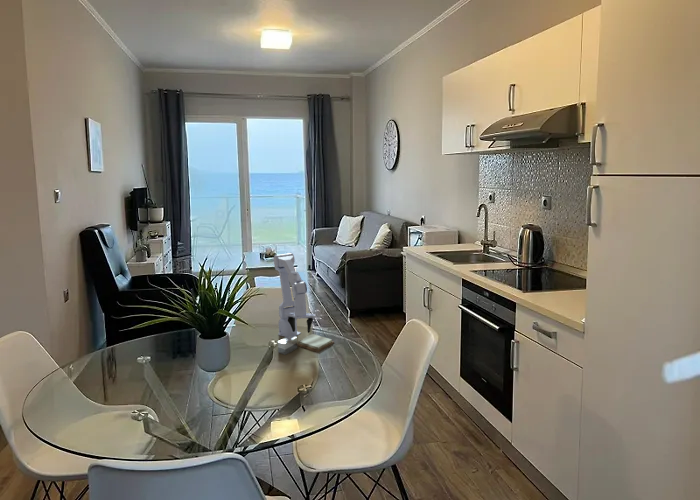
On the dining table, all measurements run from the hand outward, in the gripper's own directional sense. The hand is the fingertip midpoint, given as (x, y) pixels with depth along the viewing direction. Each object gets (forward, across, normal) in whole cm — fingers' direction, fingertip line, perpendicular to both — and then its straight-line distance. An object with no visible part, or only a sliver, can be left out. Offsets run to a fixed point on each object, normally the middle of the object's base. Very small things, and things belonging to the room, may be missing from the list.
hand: (301, 331), depth 255 cm
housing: (+10, -7, -2) cm, 12 cm away
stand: (+10, +5, +6) cm, 13 cm away
